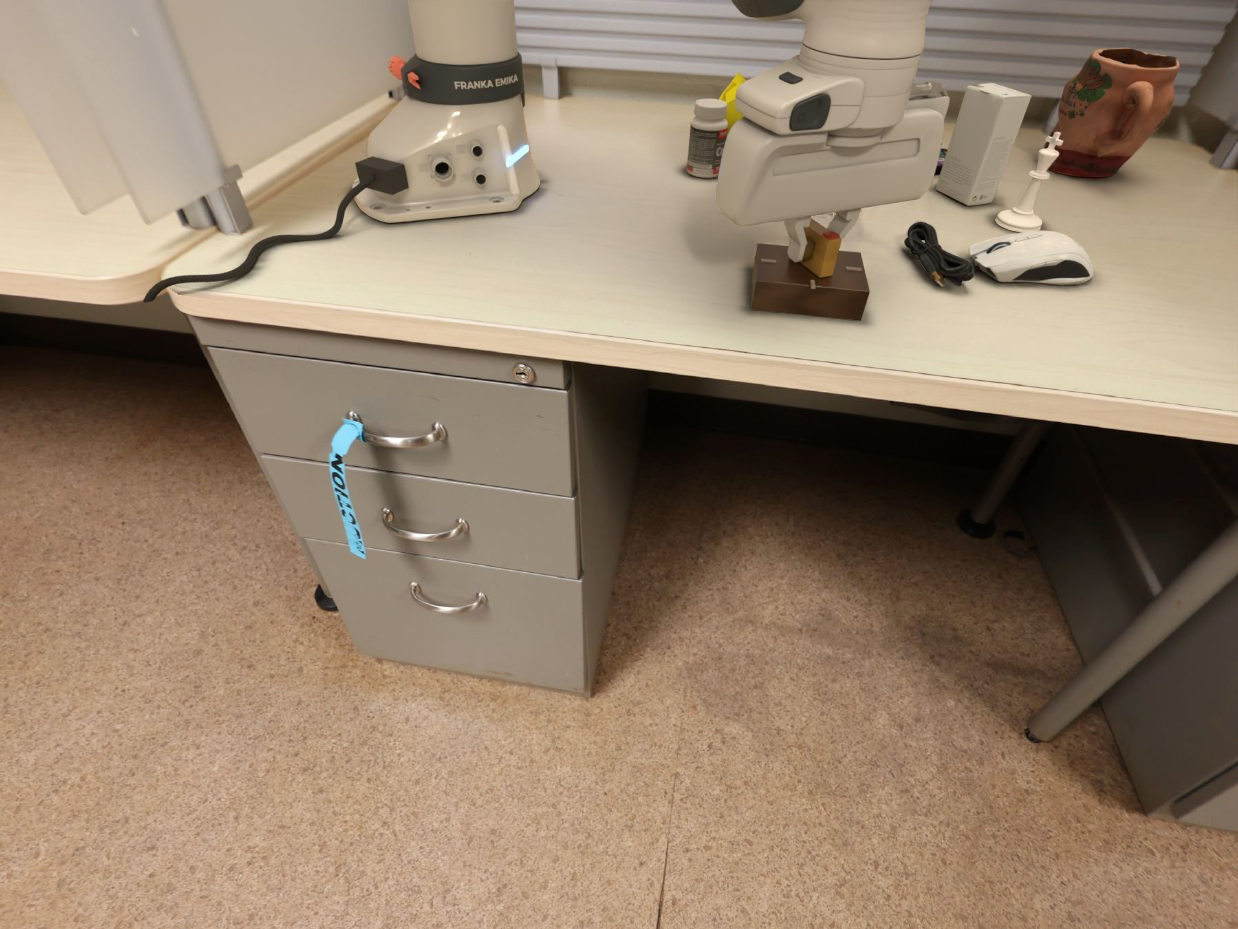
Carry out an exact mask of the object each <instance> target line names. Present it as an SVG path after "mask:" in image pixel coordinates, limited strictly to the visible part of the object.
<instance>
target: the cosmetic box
mask: <svg viewBox="0 0 1238 929" xmlns="http://www.w3.org/2000/svg"><path fill="white" fill-rule="evenodd" d="M1031 99H1032V95H1031V94H1028V93H1026V92H1022V91H1020V90H1016V89H1014V88H1010V87H1007V86H1005V85H1001V84H998V83H995V82H987V83H980V84H972V85H971V84H969V85H967V86H966V88H965V92H964V94H963V98H962V102H961V105H960V108H959V111H958V114H957V118H956V121H955V124H954V127H953V131H952V134H951V138H950V140H949V144H948V147H947V149H948V150H947V153H946V157H945V160H944V163H943V167H942V170H941V172H939V177H938V180H937V183H936V186H935V191H938V192H940V193H942V194H943V195H945V196H948V197H950V198H951V199H953V200H955V201H957V202H959V203H961V204H963V205H965V206H968V207H970V206H971V207H972V206H979V205H988V204H991V203H992V202H993V201H994V198H995V196H996V193H997V190H998V188H999V185H1000V184H1001V183H1000V182H1001V179H1002V178H1003V174H1004V172H1005V169H1006V166H1007V164H1008V161H1009V158H1010V155H1011V152H1012V150H1013V147H1014V145H1015V142H1016V140H1017V137H1018V134H1019V131H1020V128H1021V126H1022V123H1023V120H1024V117H1025V115H1026V112H1027V109H1028V107H1029V104H1030V101H1031Z"/></svg>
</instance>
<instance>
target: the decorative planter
mask: <svg viewBox="0 0 1238 929" xmlns="http://www.w3.org/2000/svg"><path fill="white" fill-rule="evenodd" d="M1180 65H1181V64H1180V62H1179V60H1178V57H1176V56H1172V55H1166V54H1165V55H1164V54H1159V53H1149V52H1145V51H1142V50H1139V49H1134V48H1131V47H1116V48H1114V47H1113V48H1099V49H1096V50H1094V51H1092V53H1090V55H1089V57H1088V58H1087V59H1086V60H1085V62H1084V64H1083V66H1082V68H1081V69H1080V70H1079V71H1078V72H1077V73H1076V74H1075V75H1074V76H1072V77H1071V78H1070V79H1069V80H1067V82H1066V83H1065V85H1064V86H1063V90H1062V93H1061V98H1060V100H1059V104H1058V108H1057V109H1058V110H1057V118H1058V121H1057V122H1056V124H1055V126H1054V127H1053V129H1052V131H1051V132H1050V134H1049V136H1050V137H1053V135H1054V133H1055V132H1060V133H1061V134H1060V136H1059V140H1062V141H1063V143H1062V145H1060V146H1058V145H1055V148H1054V149H1055V150H1056V151H1058V152H1059V156H1058V157H1057V158H1056V160H1055V161H1054V162H1053V163H1052V164H1051V166H1050V167H1049V168H1048V170H1050V171H1052V172H1054V173H1057V174H1061V175H1066V176H1074V177H1080V178H1107V177H1111V176H1114V175H1116V174H1117V173H1118V171H1119V170H1120V169H1121V168H1122V167H1123V166H1124V165H1125V164H1126V163H1127V162H1128V161H1130V159H1131V158H1132V157H1133V156H1134V155H1135V154H1136V153H1137V151H1139V150H1140V149H1141V147H1142V146H1143V145H1144V144H1145V143H1146V142H1147V141H1148V140H1149V139H1150V137H1152V136H1153V135H1154V134H1155V133H1156V132H1157V131H1158V130H1159V129H1160V128H1161V127H1163V125H1164V124H1165V123H1166V122H1167V120H1168V118H1169V116H1170V113H1171V111H1172V108H1173V106H1174V102H1175V81H1176V78H1177V75H1178V74H1179V72H1180V67H1181V66H1180ZM1049 144H1050V143H1049V142H1046V141H1045V144H1044V146H1043V149H1045V148H1048V147H1049Z"/></svg>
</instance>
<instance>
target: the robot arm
mask: <svg viewBox="0 0 1238 929" xmlns="http://www.w3.org/2000/svg"><path fill="white" fill-rule="evenodd" d="M730 1H731V3H732V4H733V5H734V6H735V8H736V9H737V10H738V11H739V12H740V13H741V14H742V15H743V16H745V17H747V18H752V19H757V20H761V21H765V22H778V21H790V20H801V21H802V22H803V25H804V31H803V36H802V39H801V45H800V50H799V54H797V55H795V56H792V57H791V58H789V59H786V61H784V62H782V63H780V64H778V65H776V66H775V67H772V68H771V69H769V70H766V71H764V72H761V73H760V74H757V75H756V76H754V77H751V78H749V79H746V81H745V82H743V83H742V84H741V85H740V86H739V87H738V89H737V92H736V98H735V107H736V110H737V111H738V112H739V113H741V114H742V115H743V116H744V117H742V118H741V119H739V120H738V121H737V122H736V123H735V124H734V125H733V126H732V128H731V130H730V131H729V134H728V136H727V139H726V142H725V145H724V149H723V154H722V158H721V164H720V169H719V175H718V176H717V182H716V188H715V189H716V190H715V203H716V206H717V208H718V210H719V211H720V213H721V214H722V216H724V217H725V218H726V219H727V220H728V221H730V222H731V223H732V224H733V225H735V226H736V227H739V228H745V227H752V226H757V225H764V224H769V223H777V222H783V224H784V227H785V230H786V233H787V235H788V238H789V243H788V246H789V247H788V257H789V258H790V259H791V260H793V261H794V262H801V261H806V260H810V259H811V257H812V253H811V252H812V251H813V249H814V245H815V243H814V242H812V241H811V240H808V238H807V237H806V236H805V232H804V229H803V227H809V226H810V221H811V218H812V217H814V216H821V215H828V214H834V216H833V217H832V219H831V221H830V223H829V224H828V226H827V227H826V228H827V229H828V230H829V231H834V232H836V233H837V234H839V235H840V238H841V239H842V240H843V239H844V238H845V237H846V235H847V234H848V233H849V232H850V231H851V229H852V228H853V227H854V226H855V224H856V223H857V222H858V221H859V218H860V215H861V212H862V209H866V208H871V207H878V206H883V205H884V206H885V205H891V204H896V203H897V204H898V203H903V202H909V201H911V202H912V201H916V200H920V199H921V198H922V197H923V196H924V195H925V193H926V192H927V191H928V190H929V189H930V187H932V186H931V185H932V183H933V180H934V177H935V174H936V172H935V170H936V166H937V162H938V158H939V154H940V149H941V148H942V146H943V145H942V144H943V140H944V134H945V118H946V116H947V112H948V111H949V110H948V109H949V107H950V101H951V99H950V97H949V94H948V91H947V89H946V88H945V87H943V84H942V83H941V82H939V81H934V80H933V81H926V82H924V83H915V80H916V76H917V74H918V69H919V66H920V62H921V59H922V56H923V52H924V49H925V43H926V24H927V19H928V15H929V11H930V9H931V6H932V4H933V1H934V0H730ZM406 2H407V6H408V7H407V8H408V13H409V18H410V24H411V30H412V36H413V42H414V49H415V53H414V55H413V56H412V57H410V59H408V60H407V61H406V60H404V59H403V58H402V57H400V56H397V55H395V56H392V57H391V58H390V59H389V62H388V67H387V68H388V70H389V73H391V74H392V76H394V77H395V78H396V79H397V80H399V81H401V82H402V87H403V92H404V94H405V95H404V96H403V97H402V99H401V100H400V101H399V102H398V103H397V104H396V105H395V106H394V108H393V109H392V110H391V111H390V112H389V113H388V114H387V115H386V116H385V117H384V118H383V119H382V120H381V122H380V123H378V125H376V127H375V128H374V129H373V130H372V131H371V132H370V133H369V135H368V139H367V143H366V158H365V159H361V160H358V161H356V162H354V165H355V170H356V173H357V177H356V178H355V180H353V182H352V189H350V191H348V193H346V194H345V195H344V197H343V198H342V200H341V202H340V203H339V206H338V208H337V210H336V216H335V222H334V224H333V226H332V227H331V228H329V229H328V230H326V231H324V232H321V233H316V234H276V235H271V236H269V237H265V238H264V239H261V240H259V241H258V242H257V243H255V244H254V245H253V246H252V247H251V248H250V250H249V252H248V254H247V256H246V258H245V260H244V261H243V262H242V263H241V264H240V265H238V266H237V267H235V268H234V269H231V270H228V271H226V272H221V273H220V272H219V273H211V274H209V273H208V274H182V275H176V276H171V277H168V278H165V279H162V280H160V281H159V282H157V283H155V284H154V285H153V286H152V287H150V289H149V290H148V291H147V292H146V294H145V296H144V298H143V300H142V302H143V303H145V304H146V303H151V302H153V301H154V300H155V299H156V298H157V297H158V295H160V293H161V292H162V291H165V289H167V288H169V287H172V286H176V285H181V284H193V283H217V282H218V283H219V282H224V281H225V282H226V281H229V280H232V279H236V278H238V277H240V276H242V275H244V274H245V273H246V272H248V271H249V270H250V269H251V268H252V266H253V265H254V263H255V261H256V259H257V256H258V255H259V253H260V252H261V251H262V250H263V249H265V248H267V247H269V246H272V245H274V244H276V243H285V242H286V243H287V242H295V243H296V242H313V241H322V240H323V241H324V240H328V239H331V238H332V237H333V236H335V235H337V234H338V233H339V232H340V230H341V229H342V226H343V224H344V219H345V215H346V214H345V213H346V210H347V208H348V207H349V205H350V204H351V202H352V201H354V202H355V203H356V205H357V207H358V208H359V209H360V210H361V211H362V212H363V213H364V214H365V215H367V216H368V217H370V218H372V219H374V220H377V221H380V222H383V223H389V224H391V223H394V224H395V223H403V222H404V223H405V222H414V221H423V220H425V221H426V220H434V219H435V220H436V219H445V218H453V217H465V216H475V215H485V214H493V213H495V214H496V213H503V212H504V213H505V212H513V211H515V210H517V209H518V208H519V207H520V206H521V204H522V201H523V200H524V199H526V198H528V197H529V196H531V195H532V194H534V193H535V192H536V191H537V190H538V188H539V187H540V185H541V179H540V176H539V174H538V171H537V168H536V165H535V162H534V157H533V154H532V150H531V144H530V141H529V135H528V130H527V125H526V119H525V118H526V117H525V111H524V108H525V106H526V80H525V71H524V67H523V57H522V53H520V51H518V50H519V49H518V36H517V24H516V11H515V9H516V8H515V0H406ZM840 249H841V247H840V248H839V250H840ZM838 253H839V252H838Z"/></svg>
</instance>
